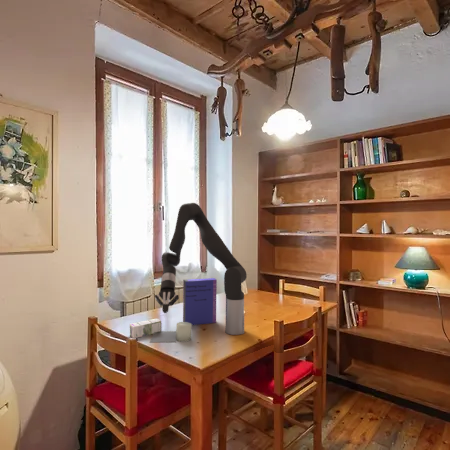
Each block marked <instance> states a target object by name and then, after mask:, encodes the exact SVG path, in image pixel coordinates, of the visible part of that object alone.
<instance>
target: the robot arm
mask: <svg viewBox="0 0 450 450" xmlns="http://www.w3.org/2000/svg"><path fill="white" fill-rule="evenodd" d="M189 221H193V222H194V223H195V225H196V226H197V228H198V230H199V233H200V239H201V242H202V245H203V246H204V247H205V248H206V250H207V251H208V253H209V254H210V255H211V256H213V257H214V258H215V259H216V260H218V261H219V262H220V263H221V264H222V265H223V266H224V268H225V269H226V270H225V272H224V276H223V279H224V281H223V285H224V287H223V288H224V294H225V334H227V335H233V336H236V335H237V336H238V335H244V334H245V293H244V292H243V290H242V289H243V288H242V284H243V283H244V282H245V281H246V280H247V277H248V276H247V272H246V270H245V269H246V268H244V266H243V265H242V264H241V263H240V262H239V261H238V260H237V258H235V256H234V255H233V254H232V252H231V250H230V249H229V248H228V247H227V245H226V243H225V241H223V239H222V238H221V236H220V234H218V233H217V231H216V229H214V227H213V225H212V223H211V222H210V221H209V220H208V218H207V216H206V215H205V213H204V211H203V209H202V208H201V206H200V205H199V204H198V203H196V202H189V203H188V202H187V203H183V204H181V205H180V207H179V209H178V213H177V218H176V223H175V229H174V233H173V235H172V238H171V241H170V243H169V246H168V249H169V251H170V252H169V251H165V252H163V253H162V255H161V265H162V269H163V270H162V276H161V282H160V288H159V289H160V291H158V294H155V295H154V298H155V301H156V302H157V303H158V304H159V306H160V307H162V313H163V314H167V313H168V312H169V309H170V308H169V307H173V305H174V304H175V303H176V302H177V301H178V300H180V299H179V298H180V297H179V296H180V295H179V294H176V292H175V290H176V281H177V279H176V276H177V275H176V274H177V269H176V267H177V266H179V265H180V262H181V252H182V249H183V246H184V244H185V242H186V227H187V225H188V223H189ZM160 298H161V299H160Z"/></svg>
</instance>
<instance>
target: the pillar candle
mask: <svg viewBox="0 0 450 450" xmlns="http://www.w3.org/2000/svg"><path fill="white" fill-rule="evenodd" d="M192 326H193V325H192V324H191V323H188V322H183V321H178V322H177V323H176V330H175V331H176V340H177V341H178V342H183V343H184V342H188V341H190V340H191V337H192Z"/></svg>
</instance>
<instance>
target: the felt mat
mask: <svg viewBox="0 0 450 450" xmlns="http://www.w3.org/2000/svg"><path fill="white" fill-rule="evenodd" d="M177 341H178V340H176V330H170V331H169V330H165V331H164V330H161V332H159V333H155V334H152V336H151V339H150V341H149V343H177Z"/></svg>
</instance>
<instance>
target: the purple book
mask: <svg viewBox="0 0 450 450" xmlns="http://www.w3.org/2000/svg"><path fill="white" fill-rule="evenodd" d="M182 282H183V283H182V285H183V287H182V290H183V292H182V293H183V294H182V296H183V297H182V298H183V299H182V322H188V323H191V324H192V326H198V325H207V324H209V325H210V324H216V323H217V287H218V286H217V285H218V284H217V283H218V282H217V279H216V278H213V277H211V278H192V279H183V281H182Z"/></svg>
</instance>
